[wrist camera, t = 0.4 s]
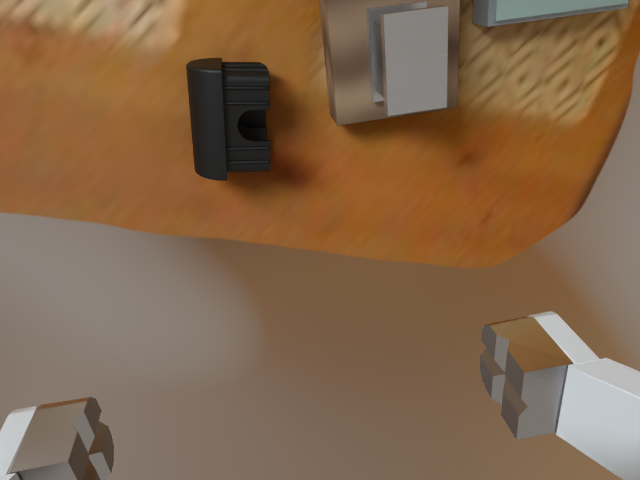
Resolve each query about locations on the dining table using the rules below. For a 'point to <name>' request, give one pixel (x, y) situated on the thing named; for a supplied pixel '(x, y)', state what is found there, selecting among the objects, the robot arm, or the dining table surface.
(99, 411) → the robot arm
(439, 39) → the block
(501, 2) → the stand
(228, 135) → the end cap
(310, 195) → the dining table surface
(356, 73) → the stand
